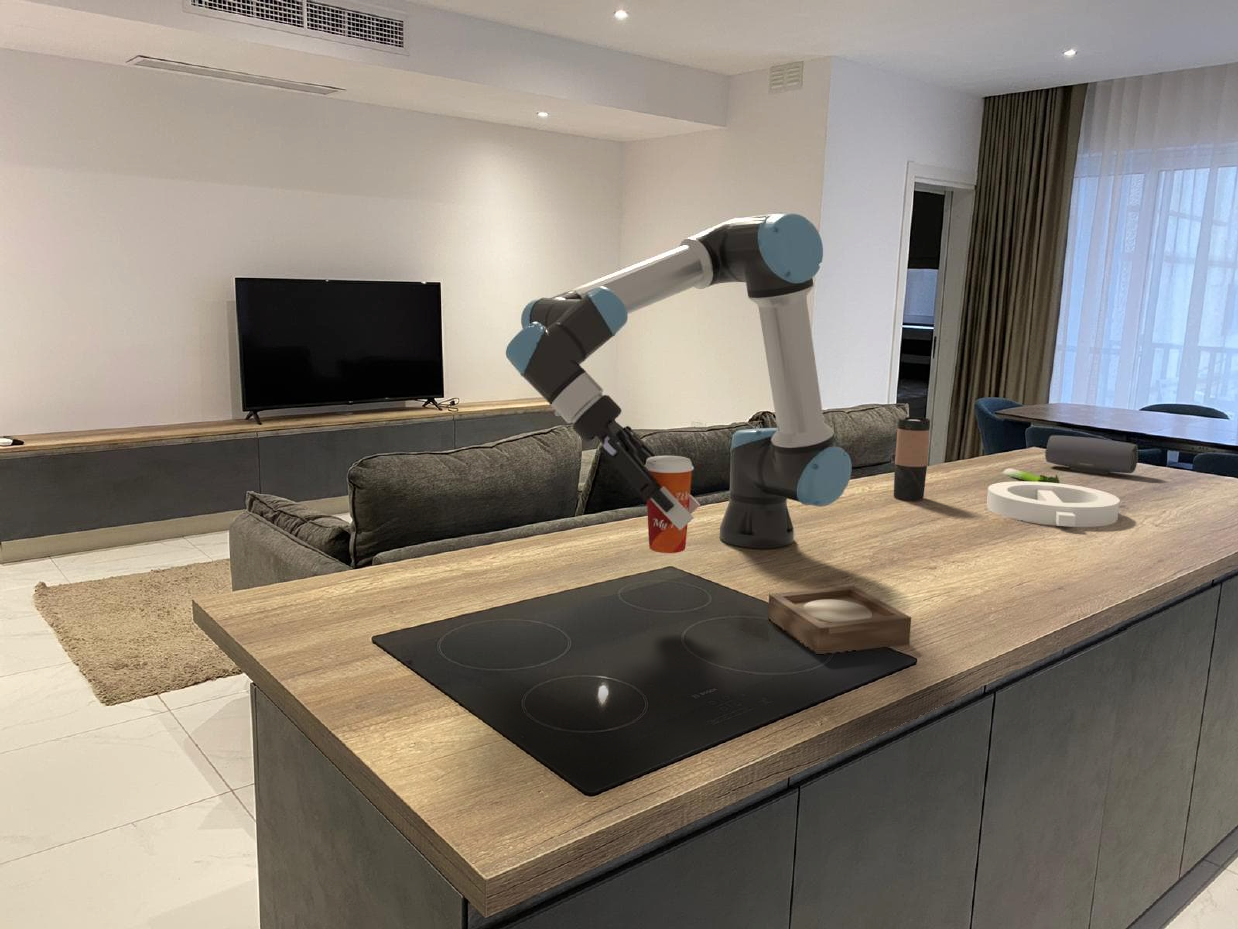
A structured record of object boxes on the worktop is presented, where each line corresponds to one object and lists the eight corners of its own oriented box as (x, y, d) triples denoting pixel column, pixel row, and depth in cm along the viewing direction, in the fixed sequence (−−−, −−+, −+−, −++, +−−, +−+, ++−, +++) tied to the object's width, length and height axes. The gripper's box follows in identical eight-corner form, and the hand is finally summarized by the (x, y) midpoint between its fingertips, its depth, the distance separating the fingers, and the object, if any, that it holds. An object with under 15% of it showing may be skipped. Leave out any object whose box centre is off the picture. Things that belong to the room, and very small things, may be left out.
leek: (1021, 482, 257) (1068, 496, 228) (996, 485, 258) (1040, 499, 228) (1019, 461, 257) (1066, 473, 227) (994, 464, 257) (1038, 476, 227)
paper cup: (658, 557, 134) (659, 465, 131) (633, 544, 141) (634, 457, 138) (702, 551, 138) (704, 461, 135) (676, 539, 144) (678, 453, 142)
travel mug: (926, 502, 221) (932, 421, 217) (893, 500, 223) (899, 420, 219) (922, 495, 229) (928, 417, 225) (891, 493, 230) (896, 416, 226)
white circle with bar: (1035, 495, 232) (1037, 477, 231) (1143, 519, 208) (1145, 499, 207) (961, 507, 218) (962, 487, 217) (1067, 533, 194) (1069, 512, 193)
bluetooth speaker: (1136, 475, 259) (1140, 441, 257) (1127, 479, 252) (1131, 444, 251) (1053, 464, 275) (1057, 432, 273) (1043, 468, 268) (1046, 435, 266)
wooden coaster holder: (767, 618, 140) (769, 594, 139) (851, 609, 144) (853, 585, 143) (818, 655, 126) (819, 628, 125) (909, 643, 130) (911, 617, 129)
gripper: (586, 416, 149) (681, 517, 148) (553, 436, 129) (662, 551, 129) (618, 385, 146) (714, 487, 146) (589, 400, 127) (700, 517, 127)
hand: (690, 517), depth 138 cm, fingers closed on paper cup, 8 cm apart
